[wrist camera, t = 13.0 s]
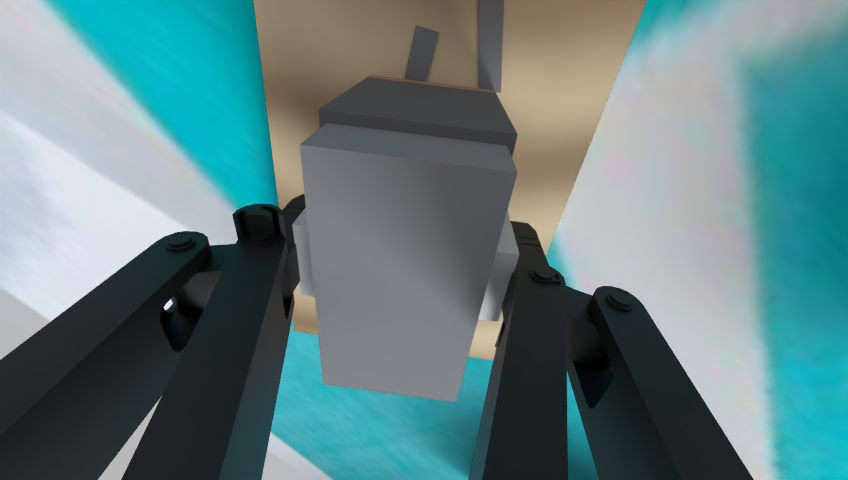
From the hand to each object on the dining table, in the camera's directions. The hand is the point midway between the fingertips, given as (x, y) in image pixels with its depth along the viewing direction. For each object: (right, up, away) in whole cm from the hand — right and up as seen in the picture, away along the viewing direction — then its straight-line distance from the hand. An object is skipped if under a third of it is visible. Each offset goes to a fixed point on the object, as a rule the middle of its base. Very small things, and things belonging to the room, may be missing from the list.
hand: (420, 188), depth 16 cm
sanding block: (0, 0, 0) cm, 0 cm away
